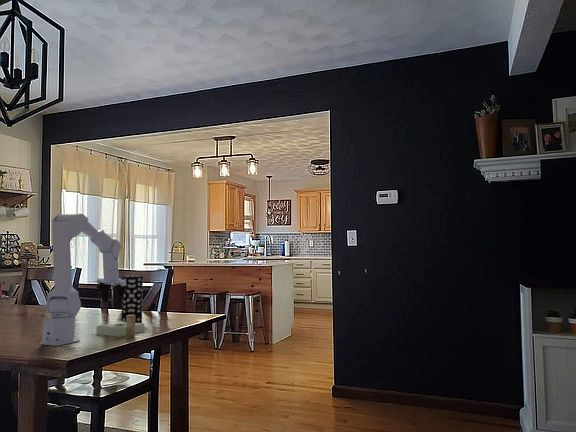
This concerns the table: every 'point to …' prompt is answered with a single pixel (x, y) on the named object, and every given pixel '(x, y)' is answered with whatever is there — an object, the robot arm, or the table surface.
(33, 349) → the table surface
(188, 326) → the table surface
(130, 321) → the peg
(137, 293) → the spotted tube
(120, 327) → the wick holder
